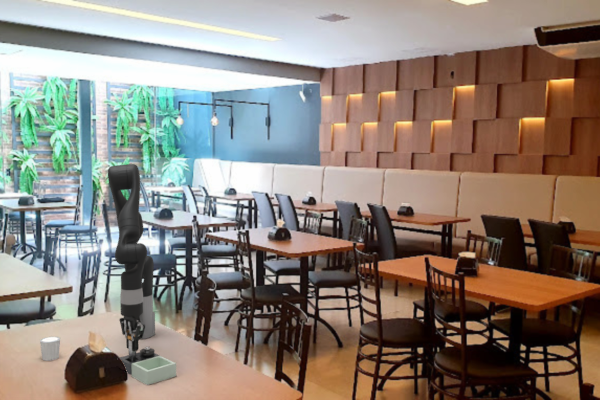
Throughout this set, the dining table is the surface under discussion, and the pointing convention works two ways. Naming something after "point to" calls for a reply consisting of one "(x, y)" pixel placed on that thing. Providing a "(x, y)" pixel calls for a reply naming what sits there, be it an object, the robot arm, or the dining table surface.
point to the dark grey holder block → (138, 358)
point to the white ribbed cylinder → (50, 348)
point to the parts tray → (153, 370)
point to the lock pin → (131, 353)
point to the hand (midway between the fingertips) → (132, 349)
